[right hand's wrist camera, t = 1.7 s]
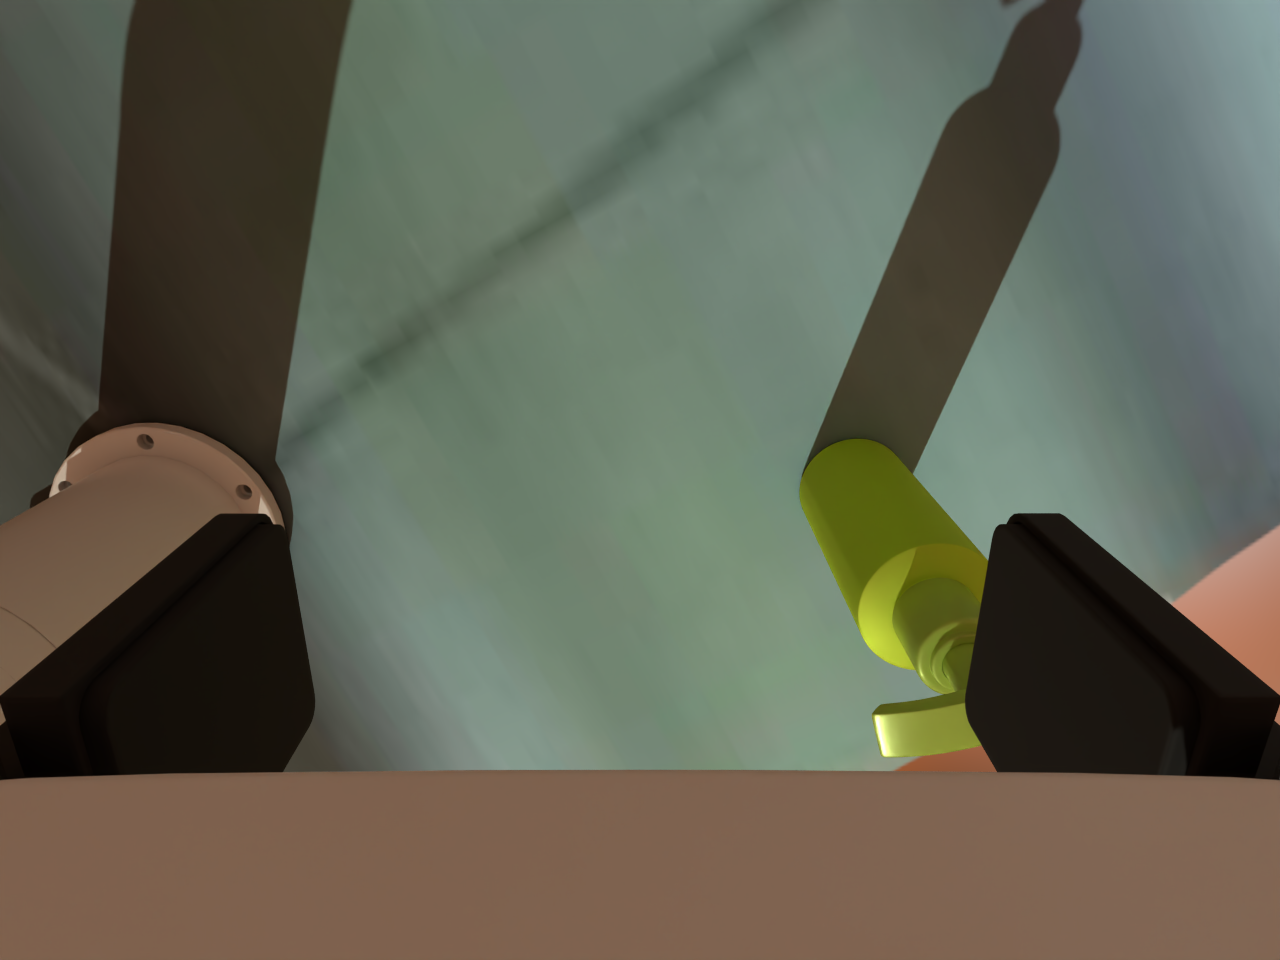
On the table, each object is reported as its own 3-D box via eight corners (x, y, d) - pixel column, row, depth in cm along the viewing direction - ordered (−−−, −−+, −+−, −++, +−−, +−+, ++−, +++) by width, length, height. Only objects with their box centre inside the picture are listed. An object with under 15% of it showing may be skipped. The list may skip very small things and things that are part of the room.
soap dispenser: (770, 459, 45) (863, 673, 26) (895, 425, 44) (1084, 620, 25) (793, 552, 47) (895, 813, 28) (914, 521, 46) (1101, 767, 27)
